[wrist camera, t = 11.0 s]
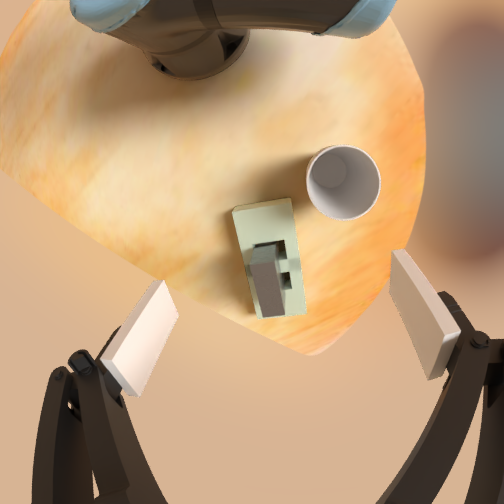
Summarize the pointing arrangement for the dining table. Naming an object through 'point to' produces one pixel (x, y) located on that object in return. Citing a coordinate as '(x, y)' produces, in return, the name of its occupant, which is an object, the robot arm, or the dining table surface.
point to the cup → (343, 182)
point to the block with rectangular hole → (267, 230)
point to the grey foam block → (268, 279)
